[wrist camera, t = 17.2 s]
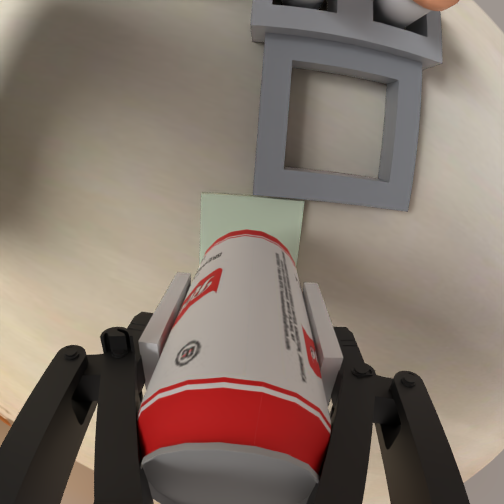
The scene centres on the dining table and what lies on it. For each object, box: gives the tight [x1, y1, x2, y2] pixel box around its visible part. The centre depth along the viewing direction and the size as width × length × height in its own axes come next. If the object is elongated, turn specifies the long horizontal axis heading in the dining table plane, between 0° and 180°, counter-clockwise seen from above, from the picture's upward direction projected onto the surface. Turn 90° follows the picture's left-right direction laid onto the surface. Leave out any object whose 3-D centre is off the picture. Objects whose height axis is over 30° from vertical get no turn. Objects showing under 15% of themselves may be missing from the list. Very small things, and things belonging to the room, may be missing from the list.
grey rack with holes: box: [251, 0, 442, 212], centre depth 20 cm, size 14×19×4 cm
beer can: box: [137, 229, 331, 504], centre depth 14 cm, size 6×6×16 cm
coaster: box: [199, 192, 304, 266], centre depth 26 cm, size 8×8×1 cm
